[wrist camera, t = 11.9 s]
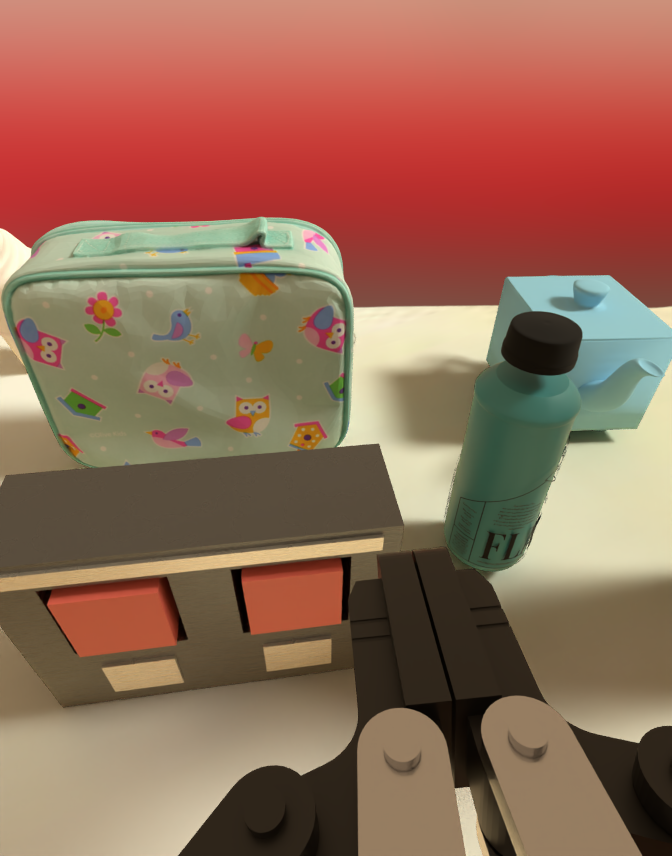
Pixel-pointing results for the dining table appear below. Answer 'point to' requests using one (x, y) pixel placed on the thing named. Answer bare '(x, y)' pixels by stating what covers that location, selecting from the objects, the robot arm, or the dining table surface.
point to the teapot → (596, 343)
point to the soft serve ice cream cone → (3, 259)
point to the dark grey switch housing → (190, 561)
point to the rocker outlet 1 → (117, 616)
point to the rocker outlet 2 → (293, 595)
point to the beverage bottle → (514, 441)
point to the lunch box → (186, 338)
